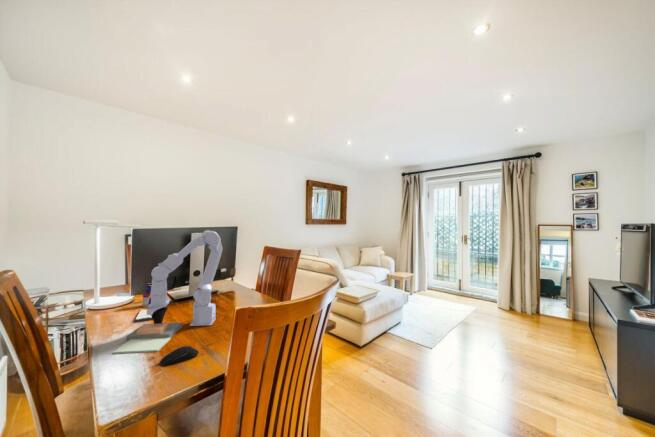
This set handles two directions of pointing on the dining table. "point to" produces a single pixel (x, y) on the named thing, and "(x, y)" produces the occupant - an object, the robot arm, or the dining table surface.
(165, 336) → the riser
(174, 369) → the dining table surface
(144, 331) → the tile
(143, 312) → the smartphone
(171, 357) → the gaming mouse
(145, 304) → the energy drink
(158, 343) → the mat
